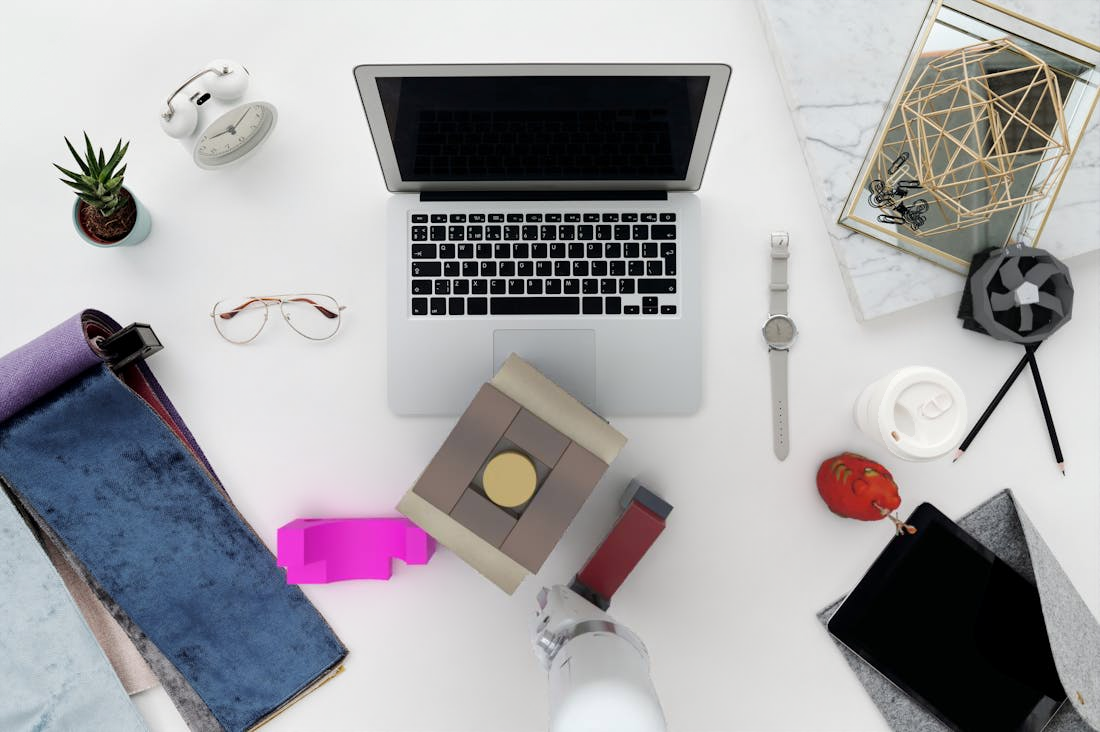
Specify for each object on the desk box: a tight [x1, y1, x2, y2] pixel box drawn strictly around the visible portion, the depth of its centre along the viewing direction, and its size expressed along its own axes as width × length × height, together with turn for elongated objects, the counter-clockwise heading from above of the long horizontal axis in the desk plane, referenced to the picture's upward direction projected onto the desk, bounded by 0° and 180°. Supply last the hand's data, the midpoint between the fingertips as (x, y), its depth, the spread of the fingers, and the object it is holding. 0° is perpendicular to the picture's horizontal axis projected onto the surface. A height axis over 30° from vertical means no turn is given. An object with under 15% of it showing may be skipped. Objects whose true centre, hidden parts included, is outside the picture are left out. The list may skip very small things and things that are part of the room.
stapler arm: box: [565, 499, 667, 613], centre depth 78 cm, size 13×4×3 cm, turn 146°
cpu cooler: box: [956, 241, 1075, 347], centre depth 84 cm, size 10×6×10 cm
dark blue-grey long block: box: [618, 477, 674, 521], centre depth 81 cm, size 15×6×8 cm, turn 146°
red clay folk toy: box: [815, 451, 917, 537], centre depth 78 cm, size 8×7×15 cm
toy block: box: [276, 516, 436, 585], centre depth 81 cm, size 15×6×8 cm, turn 91°
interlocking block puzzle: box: [394, 352, 629, 597], centre depth 72 cm, size 16×12×27 cm
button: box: [483, 450, 537, 507], centre depth 59 cm, size 4×4×3 cm
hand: (583, 604), depth 78 cm, fingers closed
